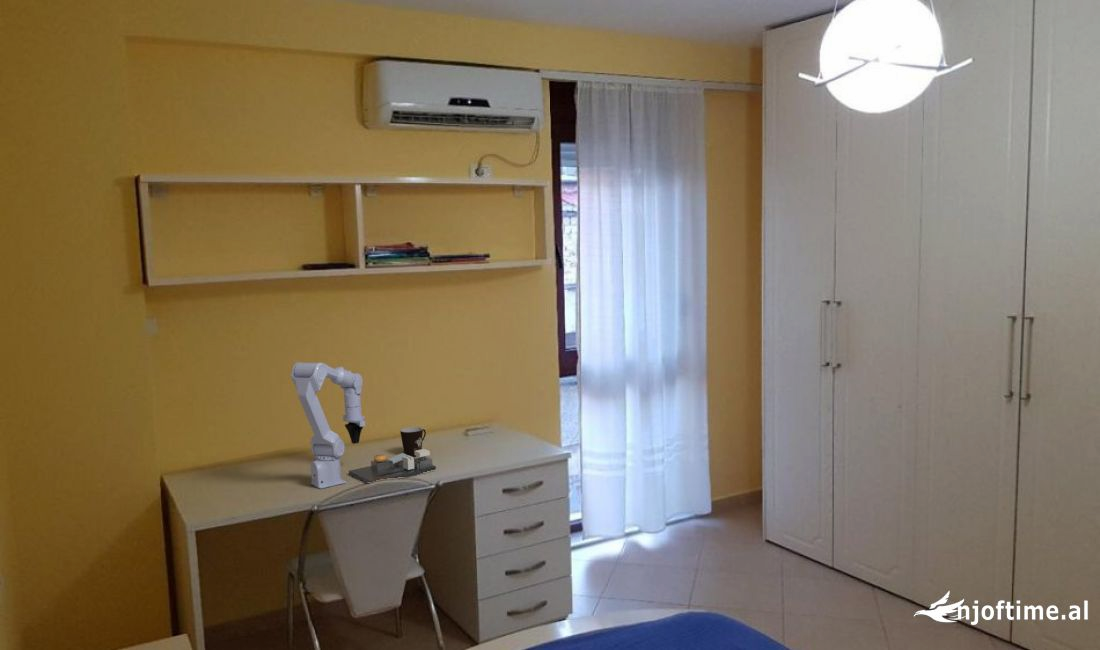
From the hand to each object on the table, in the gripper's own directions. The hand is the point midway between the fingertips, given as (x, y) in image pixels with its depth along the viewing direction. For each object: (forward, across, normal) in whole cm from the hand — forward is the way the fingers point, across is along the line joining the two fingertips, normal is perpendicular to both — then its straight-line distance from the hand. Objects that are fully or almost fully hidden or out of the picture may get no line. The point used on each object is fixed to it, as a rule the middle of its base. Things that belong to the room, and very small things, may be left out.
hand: (355, 443), depth 299 cm
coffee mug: (+10, +3, -26) cm, 28 cm away
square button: (+7, -18, -17) cm, 26 cm away
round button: (+8, -9, -5) cm, 13 cm away
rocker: (+7, -9, -12) cm, 16 cm away
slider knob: (+8, -18, -11) cm, 23 cm away
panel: (+10, -13, -8) cm, 18 cm away
